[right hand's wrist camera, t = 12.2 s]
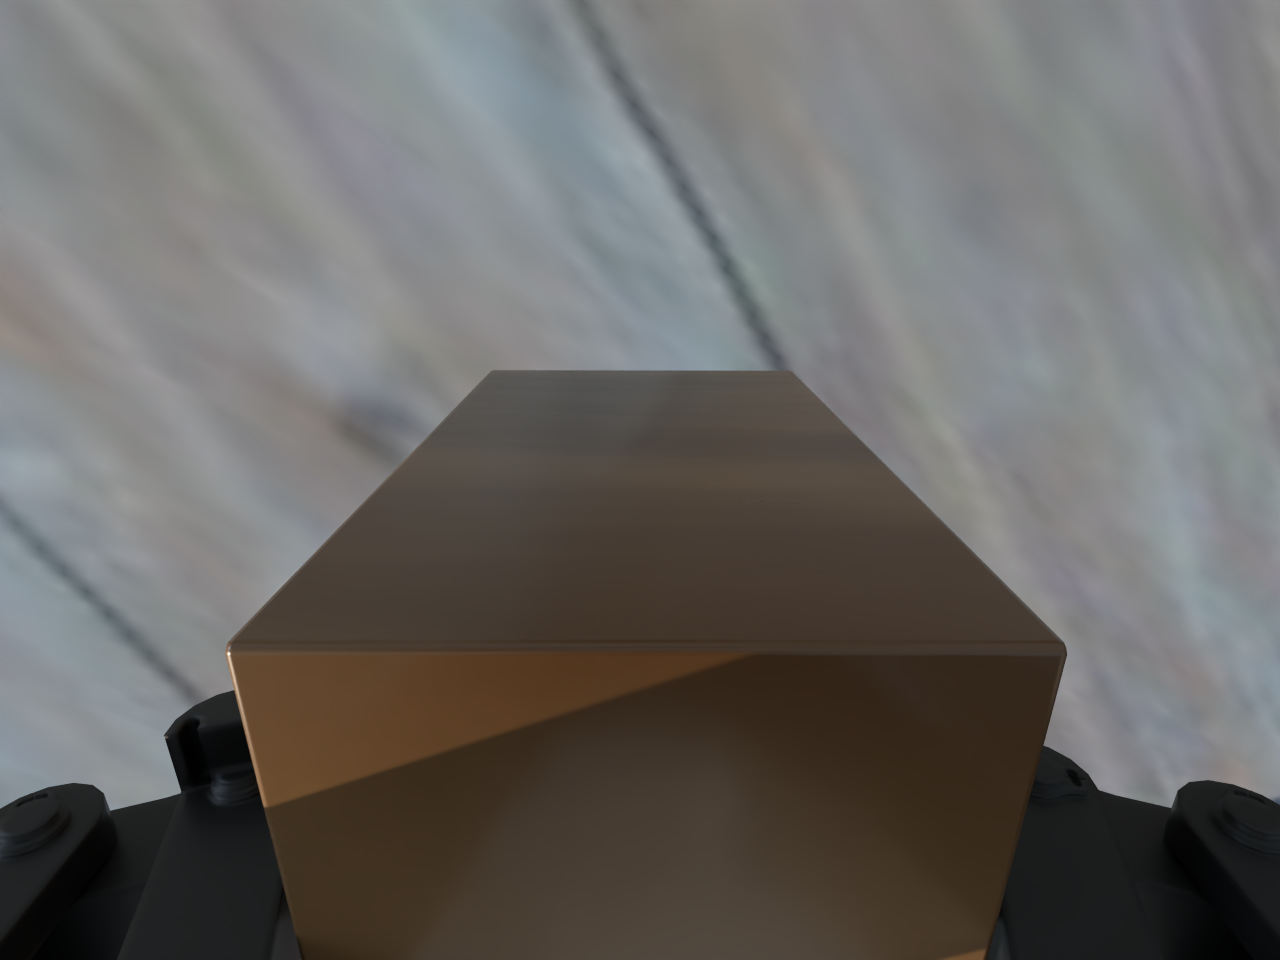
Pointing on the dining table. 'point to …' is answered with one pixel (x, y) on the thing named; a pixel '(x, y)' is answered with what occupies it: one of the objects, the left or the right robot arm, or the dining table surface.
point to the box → (644, 691)
